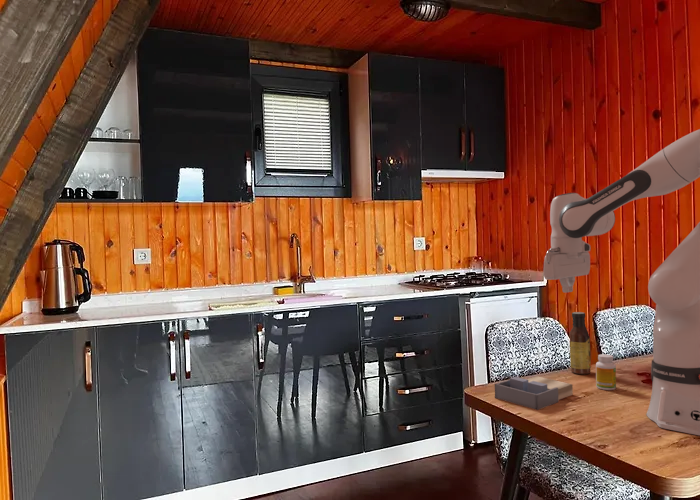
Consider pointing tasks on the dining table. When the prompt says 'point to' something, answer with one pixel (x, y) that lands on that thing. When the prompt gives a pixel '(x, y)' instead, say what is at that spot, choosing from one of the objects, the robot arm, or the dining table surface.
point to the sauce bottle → (579, 345)
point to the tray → (525, 396)
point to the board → (563, 387)
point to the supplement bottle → (605, 372)
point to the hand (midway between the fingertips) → (567, 292)
